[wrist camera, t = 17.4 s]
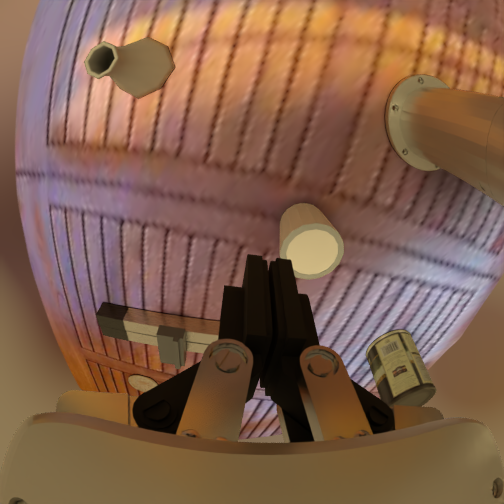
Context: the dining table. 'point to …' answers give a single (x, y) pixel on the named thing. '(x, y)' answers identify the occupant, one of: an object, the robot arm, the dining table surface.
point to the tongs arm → (156, 323)
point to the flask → (132, 65)
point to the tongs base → (148, 339)
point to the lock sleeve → (172, 345)
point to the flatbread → (142, 383)
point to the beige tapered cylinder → (309, 241)
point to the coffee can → (399, 370)
